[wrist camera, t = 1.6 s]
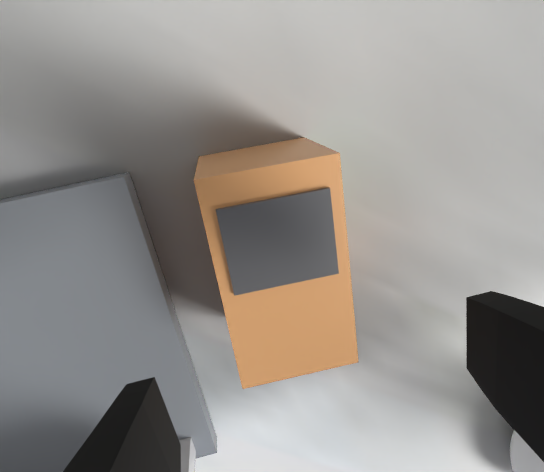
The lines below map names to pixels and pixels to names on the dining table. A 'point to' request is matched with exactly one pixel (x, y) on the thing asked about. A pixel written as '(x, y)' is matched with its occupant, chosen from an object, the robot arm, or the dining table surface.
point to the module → (280, 257)
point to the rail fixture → (85, 324)
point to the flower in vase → (524, 456)
